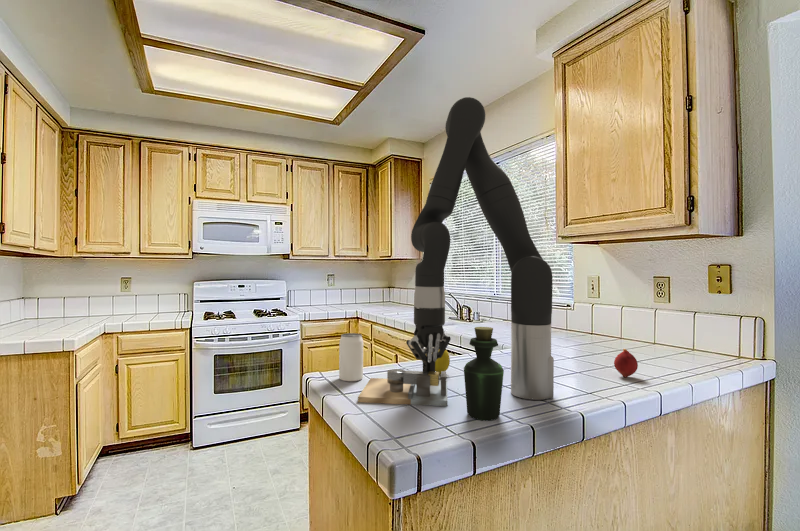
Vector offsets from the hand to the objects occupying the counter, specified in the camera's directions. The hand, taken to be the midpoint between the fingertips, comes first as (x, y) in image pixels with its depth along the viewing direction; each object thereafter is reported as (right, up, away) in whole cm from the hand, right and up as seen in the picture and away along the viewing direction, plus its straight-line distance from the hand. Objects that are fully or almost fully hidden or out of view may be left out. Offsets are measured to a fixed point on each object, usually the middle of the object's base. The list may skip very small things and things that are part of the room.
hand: (428, 376), depth 100 cm
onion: (+57, -5, +16) cm, 59 cm away
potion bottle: (+10, -4, -14) cm, 18 cm away
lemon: (+4, -4, +18) cm, 19 cm away
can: (-20, -4, +13) cm, 24 cm away
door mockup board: (-6, -4, 0) cm, 7 cm away
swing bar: (-4, -1, -2) cm, 5 cm away
